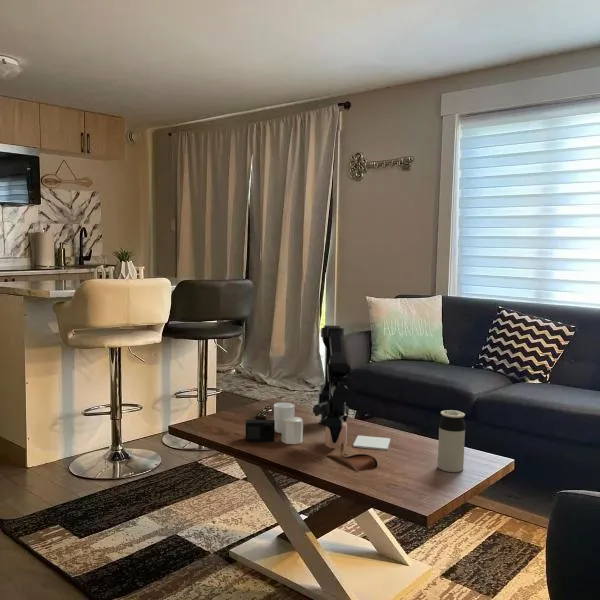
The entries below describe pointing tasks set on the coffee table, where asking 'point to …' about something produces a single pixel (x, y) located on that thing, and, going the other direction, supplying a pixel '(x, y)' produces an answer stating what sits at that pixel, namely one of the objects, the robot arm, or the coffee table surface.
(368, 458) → the sunglasses case
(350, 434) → the coffee table surface
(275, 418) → the white cup
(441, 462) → the travel mug
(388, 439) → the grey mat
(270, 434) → the digital camera
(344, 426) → the terracotta cup
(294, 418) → the off-white cup
